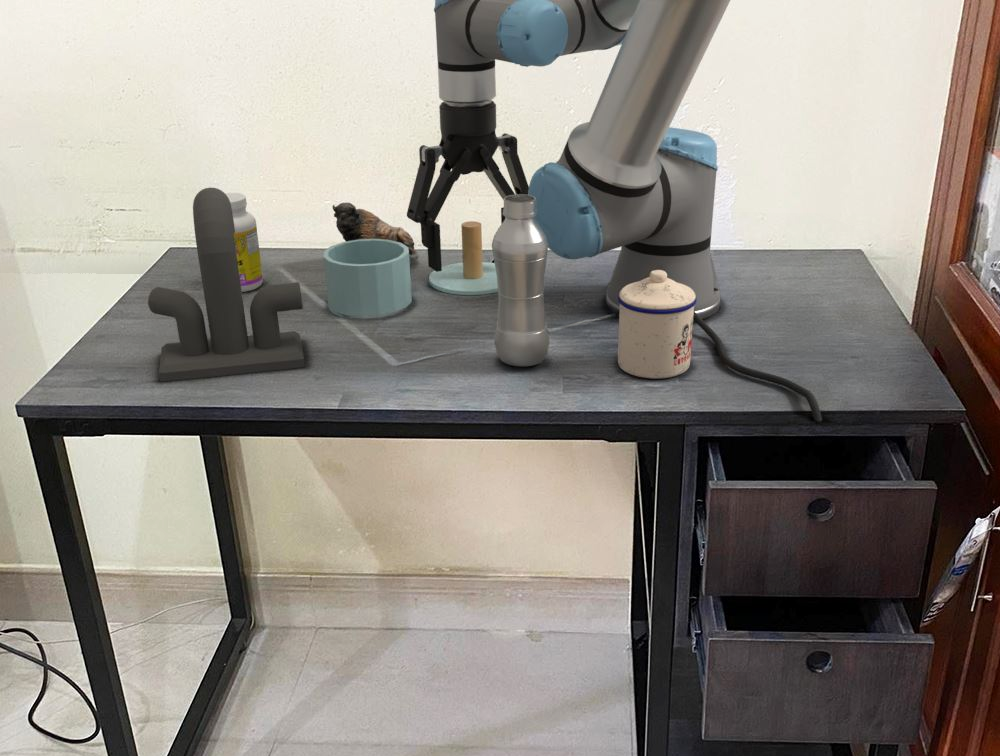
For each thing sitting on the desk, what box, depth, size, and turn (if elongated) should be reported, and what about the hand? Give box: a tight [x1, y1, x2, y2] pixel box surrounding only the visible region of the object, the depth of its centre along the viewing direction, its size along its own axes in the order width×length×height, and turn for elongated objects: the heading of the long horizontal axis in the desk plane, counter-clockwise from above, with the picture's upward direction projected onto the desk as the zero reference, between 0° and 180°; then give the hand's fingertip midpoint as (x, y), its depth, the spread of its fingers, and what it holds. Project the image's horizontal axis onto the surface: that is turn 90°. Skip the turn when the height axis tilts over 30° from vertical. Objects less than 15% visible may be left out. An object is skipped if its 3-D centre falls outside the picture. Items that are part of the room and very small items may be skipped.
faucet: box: [147, 187, 306, 383], centre depth 140 cm, size 18×16×20 cm
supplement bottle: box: [224, 192, 264, 293], centre depth 162 cm, size 7×7×13 cm
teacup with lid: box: [617, 270, 697, 380], centre depth 136 cm, size 12×9×12 cm
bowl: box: [322, 239, 413, 319], centre depth 156 cm, size 11×11×8 cm
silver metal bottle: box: [491, 193, 550, 367], centre depth 135 cm, size 6×7×20 cm
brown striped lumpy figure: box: [332, 202, 419, 265], centre depth 168 cm, size 12×7×10 cm, turn 96°
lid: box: [428, 220, 499, 296], centre depth 162 cm, size 13×13×9 cm
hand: (472, 261), depth 163 cm, fingers open, 11 cm apart
